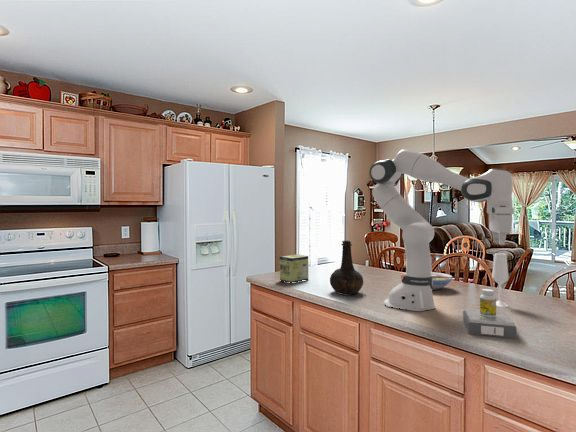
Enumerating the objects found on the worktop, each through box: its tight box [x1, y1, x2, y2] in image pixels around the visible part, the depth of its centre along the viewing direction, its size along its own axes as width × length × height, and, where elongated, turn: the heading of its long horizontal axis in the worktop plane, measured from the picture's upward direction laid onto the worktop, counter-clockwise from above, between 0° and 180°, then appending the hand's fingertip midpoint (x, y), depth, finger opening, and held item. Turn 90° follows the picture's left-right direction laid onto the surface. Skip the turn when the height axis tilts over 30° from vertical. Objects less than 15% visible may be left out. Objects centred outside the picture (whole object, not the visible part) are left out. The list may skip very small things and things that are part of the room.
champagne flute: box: [491, 252, 510, 308], centre depth 167 cm, size 7×7×24 cm
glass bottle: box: [329, 240, 364, 295], centre depth 191 cm, size 18×18×28 cm
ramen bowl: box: [431, 271, 458, 291], centre depth 201 cm, size 25×23×8 cm
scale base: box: [462, 310, 517, 339], centre depth 134 cm, size 15×16×4 cm
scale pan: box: [464, 308, 515, 326], centre depth 134 cm, size 14×14×1 cm
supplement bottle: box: [479, 288, 497, 317], centre depth 134 cm, size 5×5×10 cm
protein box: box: [279, 254, 309, 283], centre depth 222 cm, size 10×16×16 cm
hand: (498, 243), depth 144 cm, fingers open, 8 cm apart
